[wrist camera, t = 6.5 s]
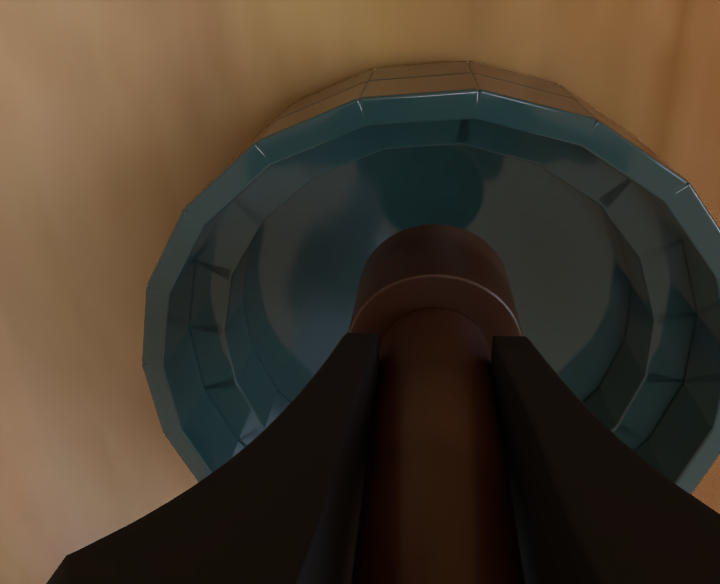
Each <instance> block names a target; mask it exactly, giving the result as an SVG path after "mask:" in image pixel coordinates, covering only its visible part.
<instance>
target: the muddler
mask: <svg viewBox="0 0 720 584" xmlns="http://www.w3.org/2000/svg"><path fill="white" fill-rule="evenodd" d="M348 333H379V370H378V378H377V387H376V395H375V401H374V406H373V412H372V420H371V428H370V436H369V444H368V452H367V460H366V468H365V476H364V484H363V492H362V500H361V508H360V516H359V524H358V532H357V540H356V548H355V556H354V564H353V572H352V581H351V584H525V580H524V573H523V567H522V561H521V554H520V548H519V541H518V535H517V528H516V522H515V515H514V509H513V503H512V496H511V490H510V483H509V477H508V470H507V464H506V457H505V451H504V445H503V438H502V432H501V425H500V419H499V412H498V407H497V402H496V396H495V390H494V383H493V377H492V370H491V354H492V341H493V336H523V335H522V331H521V327H520V323H519V319H518V315H517V311H516V307H515V303H514V299H513V295H512V291H511V287H510V283H509V279H508V275H507V271H506V269H505V267H504V264H503V262H502V261H501V259H500V257H499V256H498V254H497V253H496V252H495V251H494V249H493V248H492V247H491V246H490V245H489V244H488V243H486V242H485V241H484V240H483V239H481V238H480V237H478V236H477V235H475V234H473V233H471V232H469V231H466V230H464V229H461V228H458V227H454V226H450V225H441V224H427V225H420V226H415V227H411V228H407V229H405V230H402V231H400V232H398V233H396V234H394V235H392V236H391V237H389V238H388V239H386V240H385V241H384V242H382V243H381V244H380V245H379V246H378V247H377V248H376V249H375V250H374V251H373V253H372V254H371V255H370V256H369V258H368V260H367V262H366V263H365V265H364V268H363V270H362V273H361V277H360V281H359V286H358V291H357V295H356V300H355V305H354V309H353V314H352V318H351V323H350V328H349V332H348Z"/></svg>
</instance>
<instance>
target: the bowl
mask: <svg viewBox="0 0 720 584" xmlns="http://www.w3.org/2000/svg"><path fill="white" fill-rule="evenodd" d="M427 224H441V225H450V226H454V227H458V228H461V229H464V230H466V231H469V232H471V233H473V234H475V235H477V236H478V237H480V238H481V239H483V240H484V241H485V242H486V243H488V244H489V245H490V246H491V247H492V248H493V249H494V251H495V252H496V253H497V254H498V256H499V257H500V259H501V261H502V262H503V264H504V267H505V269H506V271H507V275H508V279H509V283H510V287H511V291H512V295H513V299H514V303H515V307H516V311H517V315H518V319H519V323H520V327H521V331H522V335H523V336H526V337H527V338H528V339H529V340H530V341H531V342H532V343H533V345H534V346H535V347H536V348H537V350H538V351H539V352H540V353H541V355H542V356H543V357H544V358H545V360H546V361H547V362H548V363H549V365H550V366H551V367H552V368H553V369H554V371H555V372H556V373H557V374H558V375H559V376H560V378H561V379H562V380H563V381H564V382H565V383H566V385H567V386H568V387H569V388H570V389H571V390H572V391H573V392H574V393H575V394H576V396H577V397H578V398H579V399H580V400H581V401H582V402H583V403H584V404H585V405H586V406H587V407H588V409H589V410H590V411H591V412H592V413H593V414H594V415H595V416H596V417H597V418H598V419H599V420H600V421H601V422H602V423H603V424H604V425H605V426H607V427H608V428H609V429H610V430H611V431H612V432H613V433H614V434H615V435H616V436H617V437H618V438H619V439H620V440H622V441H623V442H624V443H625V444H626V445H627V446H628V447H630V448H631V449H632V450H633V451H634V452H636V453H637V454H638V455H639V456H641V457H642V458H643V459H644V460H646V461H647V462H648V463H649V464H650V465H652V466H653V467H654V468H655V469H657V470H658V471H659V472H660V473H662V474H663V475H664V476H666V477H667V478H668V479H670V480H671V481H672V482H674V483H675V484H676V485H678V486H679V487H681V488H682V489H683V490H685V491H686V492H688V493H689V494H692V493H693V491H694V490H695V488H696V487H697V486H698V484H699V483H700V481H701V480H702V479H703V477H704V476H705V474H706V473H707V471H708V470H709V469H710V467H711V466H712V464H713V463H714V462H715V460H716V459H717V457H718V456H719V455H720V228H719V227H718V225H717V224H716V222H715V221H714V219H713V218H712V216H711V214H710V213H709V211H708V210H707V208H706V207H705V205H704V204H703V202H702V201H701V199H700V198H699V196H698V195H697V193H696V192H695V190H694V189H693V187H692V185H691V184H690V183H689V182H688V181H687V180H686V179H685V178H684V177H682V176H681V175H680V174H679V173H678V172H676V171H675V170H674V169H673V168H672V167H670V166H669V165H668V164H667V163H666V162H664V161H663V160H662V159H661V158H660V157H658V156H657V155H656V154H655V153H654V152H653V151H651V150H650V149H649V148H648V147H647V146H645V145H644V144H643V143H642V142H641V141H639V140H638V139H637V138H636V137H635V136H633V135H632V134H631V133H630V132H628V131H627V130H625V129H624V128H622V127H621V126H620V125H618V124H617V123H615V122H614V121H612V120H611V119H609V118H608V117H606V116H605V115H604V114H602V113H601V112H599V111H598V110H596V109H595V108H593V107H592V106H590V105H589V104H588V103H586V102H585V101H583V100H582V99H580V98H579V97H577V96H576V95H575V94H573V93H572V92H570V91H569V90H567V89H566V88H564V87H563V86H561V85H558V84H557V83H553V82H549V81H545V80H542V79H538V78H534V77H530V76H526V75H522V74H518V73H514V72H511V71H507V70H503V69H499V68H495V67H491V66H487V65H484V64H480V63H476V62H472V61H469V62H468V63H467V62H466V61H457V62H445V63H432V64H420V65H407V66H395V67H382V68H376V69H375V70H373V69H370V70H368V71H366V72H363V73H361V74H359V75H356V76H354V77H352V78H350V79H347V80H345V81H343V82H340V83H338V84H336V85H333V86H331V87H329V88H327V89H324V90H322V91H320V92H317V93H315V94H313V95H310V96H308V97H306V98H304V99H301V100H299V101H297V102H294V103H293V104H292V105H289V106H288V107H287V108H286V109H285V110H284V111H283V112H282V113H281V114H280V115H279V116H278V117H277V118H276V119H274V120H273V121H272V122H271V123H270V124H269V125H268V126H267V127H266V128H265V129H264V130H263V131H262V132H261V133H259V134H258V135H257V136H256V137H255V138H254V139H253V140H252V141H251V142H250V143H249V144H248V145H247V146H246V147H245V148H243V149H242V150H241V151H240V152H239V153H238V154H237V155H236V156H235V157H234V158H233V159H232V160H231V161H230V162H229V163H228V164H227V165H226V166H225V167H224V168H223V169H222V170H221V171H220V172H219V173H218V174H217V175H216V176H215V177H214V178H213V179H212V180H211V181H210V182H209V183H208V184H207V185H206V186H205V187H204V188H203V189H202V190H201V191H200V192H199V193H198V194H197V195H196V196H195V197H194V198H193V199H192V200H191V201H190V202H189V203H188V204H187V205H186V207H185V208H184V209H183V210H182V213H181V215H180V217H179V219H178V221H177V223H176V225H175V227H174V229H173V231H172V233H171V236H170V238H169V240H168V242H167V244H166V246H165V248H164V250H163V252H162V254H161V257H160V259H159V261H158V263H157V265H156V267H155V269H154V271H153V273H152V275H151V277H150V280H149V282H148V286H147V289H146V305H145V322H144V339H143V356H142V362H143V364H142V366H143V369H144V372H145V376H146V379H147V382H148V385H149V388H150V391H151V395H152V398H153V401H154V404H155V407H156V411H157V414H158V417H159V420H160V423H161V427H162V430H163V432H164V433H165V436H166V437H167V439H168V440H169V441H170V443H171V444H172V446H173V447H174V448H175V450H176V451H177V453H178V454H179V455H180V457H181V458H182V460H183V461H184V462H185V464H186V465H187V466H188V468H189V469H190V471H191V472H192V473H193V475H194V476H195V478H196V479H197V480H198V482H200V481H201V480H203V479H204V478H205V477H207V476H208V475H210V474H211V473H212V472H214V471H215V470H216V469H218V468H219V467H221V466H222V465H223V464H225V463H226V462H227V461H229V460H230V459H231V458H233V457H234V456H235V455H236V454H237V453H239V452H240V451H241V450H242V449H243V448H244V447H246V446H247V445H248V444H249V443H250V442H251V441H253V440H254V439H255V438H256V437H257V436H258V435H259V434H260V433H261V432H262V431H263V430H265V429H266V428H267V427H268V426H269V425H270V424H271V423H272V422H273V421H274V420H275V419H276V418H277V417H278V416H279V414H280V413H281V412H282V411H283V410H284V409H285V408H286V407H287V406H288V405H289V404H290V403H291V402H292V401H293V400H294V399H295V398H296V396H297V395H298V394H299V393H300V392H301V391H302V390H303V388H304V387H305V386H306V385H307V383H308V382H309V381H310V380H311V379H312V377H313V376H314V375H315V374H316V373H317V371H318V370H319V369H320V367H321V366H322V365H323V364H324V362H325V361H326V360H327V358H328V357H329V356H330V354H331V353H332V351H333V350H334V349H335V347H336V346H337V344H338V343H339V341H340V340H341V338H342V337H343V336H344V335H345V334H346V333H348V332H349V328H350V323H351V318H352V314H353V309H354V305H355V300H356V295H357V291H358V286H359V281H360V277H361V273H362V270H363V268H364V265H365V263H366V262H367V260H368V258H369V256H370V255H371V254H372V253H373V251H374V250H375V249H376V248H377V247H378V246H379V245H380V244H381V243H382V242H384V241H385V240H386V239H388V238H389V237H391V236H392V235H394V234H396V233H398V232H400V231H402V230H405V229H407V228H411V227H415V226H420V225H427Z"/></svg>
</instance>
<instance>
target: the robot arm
mask: <svg viewBox="0 0 720 584" xmlns="http://www.w3.org/2000/svg"><path fill="white" fill-rule="evenodd" d="M378 370H379V333H346V334H345V335H344V336H343V337H342V338H341V340H340V341H339V343H338V344H337V346H336V347H335V349H334V350H333V351H332V353H331V354H330V356H329V357H328V358H327V360H326V361H325V362H324V364H323V365H322V366H321V367H320V369H319V370H318V371H317V373H316V374H315V375H314V376H313V377H312V379H311V380H310V381H309V382H308V383H307V385H306V386H305V387H304V388H303V390H302V391H301V392H300V393H299V394H298V395H297V396H296V398H295V399H294V400H293V401H292V402H291V403H290V404H289V405H288V406H287V407H286V408H285V409H284V410H283V411H282V412H281V413H280V414H279V416H278V417H277V418H276V419H275V420H274V421H273V422H272V423H271V424H270V425H269V426H268V427H267V428H266V429H265V430H263V431H262V432H261V433H260V434H259V435H258V436H257V437H256V438H255V439H254V440H253V441H251V442H250V443H249V444H248V445H247V446H246V447H244V448H243V449H242V450H241V451H240V452H239V453H237V454H236V455H235V456H234V457H233V458H231V459H230V460H229V461H227V462H226V463H225V464H223V465H222V466H221V467H219V468H218V469H216V470H215V471H214V472H212V473H211V474H210V475H208V476H207V477H205V478H204V479H203V480H201V481H200V482H199V483H197V484H196V485H194V486H193V487H191V488H190V489H188V490H187V491H185V492H184V493H182V494H180V495H179V496H177V497H176V498H174V499H173V500H171V501H169V502H168V503H166V504H164V505H163V506H161V507H159V508H158V509H156V510H154V511H152V512H151V513H149V514H147V515H146V516H144V517H142V518H140V519H138V520H137V521H135V522H133V523H131V524H129V525H128V526H126V527H124V528H122V529H120V530H118V531H116V532H114V533H112V534H110V535H108V536H106V537H104V538H102V539H100V540H98V541H96V542H94V543H92V544H90V545H88V546H86V547H84V548H82V549H80V550H78V551H76V552H73V553H71V554H69V555H67V556H66V557H65V558H64V560H63V561H62V563H61V564H60V566H59V567H58V568H57V570H56V571H55V572H54V574H53V575H52V577H51V578H50V579H49V581H48V582H47V583H46V584H351V581H352V572H353V564H354V556H355V548H356V540H357V532H358V524H359V516H360V508H361V500H362V492H363V484H364V476H365V468H366V460H367V452H368V444H369V436H370V428H371V420H372V412H373V406H374V401H375V395H376V387H377V378H378ZM491 370H492V377H493V383H494V390H495V396H496V402H497V407H498V412H499V419H500V425H501V432H502V438H503V445H504V451H505V457H506V464H507V470H508V477H509V483H510V490H511V496H512V503H513V509H514V515H515V522H516V528H517V535H518V541H519V548H520V554H521V561H522V567H523V573H524V580H525V584H720V514H718V513H717V512H715V511H714V510H713V509H711V508H710V507H708V506H707V505H705V504H704V503H702V502H701V501H699V500H698V499H696V498H695V497H694V496H692V495H691V494H689V493H688V492H686V491H685V490H683V489H682V488H681V487H679V486H678V485H676V484H675V483H674V482H672V481H671V480H670V479H668V478H667V477H666V476H664V475H663V474H662V473H660V472H659V471H658V470H657V469H655V468H654V467H653V466H652V465H650V464H649V463H648V462H647V461H646V460H644V459H643V458H642V457H641V456H639V455H638V454H637V453H636V452H634V451H633V450H632V449H631V448H630V447H628V446H627V445H626V444H625V443H624V442H623V441H622V440H620V439H619V438H618V437H617V436H616V435H615V434H614V433H613V432H612V431H611V430H610V429H609V428H608V427H607V426H605V425H604V424H603V423H602V422H601V421H600V420H599V419H598V418H597V417H596V416H595V415H594V414H593V413H592V412H591V411H590V410H589V409H588V407H587V406H586V405H585V404H584V403H583V402H582V401H581V400H580V399H579V398H578V397H577V396H576V394H575V393H574V392H573V391H572V390H571V389H570V388H569V387H568V386H567V385H566V383H565V382H564V381H563V380H562V379H561V378H560V376H559V375H558V374H557V373H556V372H555V371H554V369H553V368H552V367H551V366H550V365H549V363H548V362H547V361H546V360H545V358H544V357H543V356H542V355H541V353H540V352H539V351H538V350H537V348H536V347H535V346H534V345H533V343H532V342H531V341H530V340H529V339H528V338H527V337H526V336H493V341H492V354H491Z"/></svg>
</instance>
